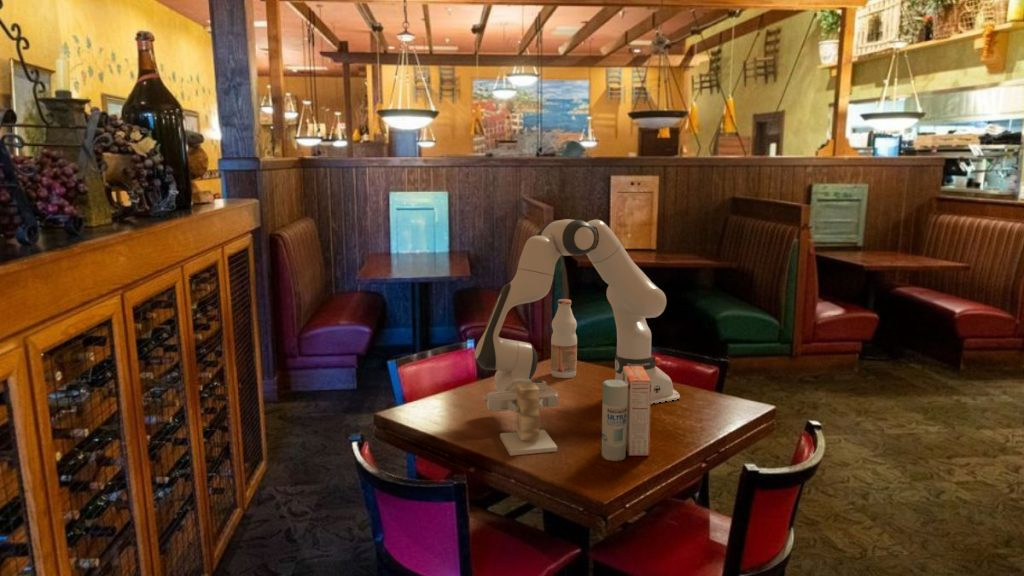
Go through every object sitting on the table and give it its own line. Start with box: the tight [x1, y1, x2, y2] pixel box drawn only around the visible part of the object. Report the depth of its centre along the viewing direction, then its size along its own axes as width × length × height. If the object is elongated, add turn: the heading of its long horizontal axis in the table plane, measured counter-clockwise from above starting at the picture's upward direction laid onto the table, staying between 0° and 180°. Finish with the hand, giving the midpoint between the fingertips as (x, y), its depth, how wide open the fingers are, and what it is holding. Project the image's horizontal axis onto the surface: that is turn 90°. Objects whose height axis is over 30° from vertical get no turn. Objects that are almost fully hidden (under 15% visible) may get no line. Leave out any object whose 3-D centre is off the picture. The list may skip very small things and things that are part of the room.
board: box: [499, 429, 558, 456], centre depth 194 cm, size 13×13×1 cm
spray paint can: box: [601, 379, 628, 462], centre depth 185 cm, size 6×6×20 cm
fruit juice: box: [550, 298, 578, 379], centre depth 257 cm, size 9×9×28 cm
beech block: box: [516, 384, 540, 440], centre depth 193 cm, size 5×5×14 cm
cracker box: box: [623, 366, 651, 457], centre depth 191 cm, size 14×6×21 cm, turn 178°
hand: (528, 409), depth 192 cm, fingers closed on beech block, 5 cm apart
